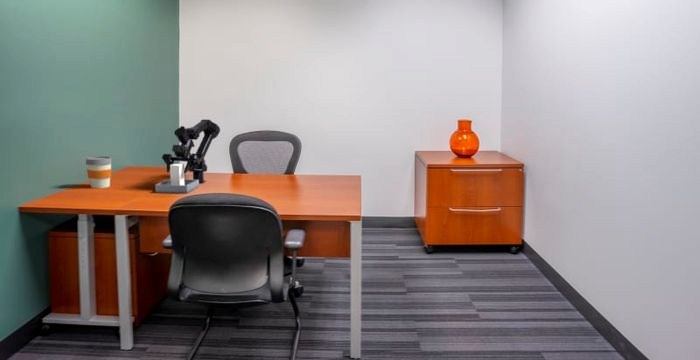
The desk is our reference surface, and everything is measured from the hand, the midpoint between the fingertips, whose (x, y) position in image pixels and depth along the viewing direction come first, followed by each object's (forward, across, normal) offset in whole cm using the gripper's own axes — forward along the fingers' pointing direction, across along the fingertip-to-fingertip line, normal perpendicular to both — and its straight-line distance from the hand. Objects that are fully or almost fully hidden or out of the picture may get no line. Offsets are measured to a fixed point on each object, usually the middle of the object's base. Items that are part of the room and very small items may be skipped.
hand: (175, 172), depth 308 cm
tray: (+6, 0, +7) cm, 9 cm away
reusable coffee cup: (+7, -43, +7) cm, 44 cm away
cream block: (+5, 0, +7) cm, 8 cm away
